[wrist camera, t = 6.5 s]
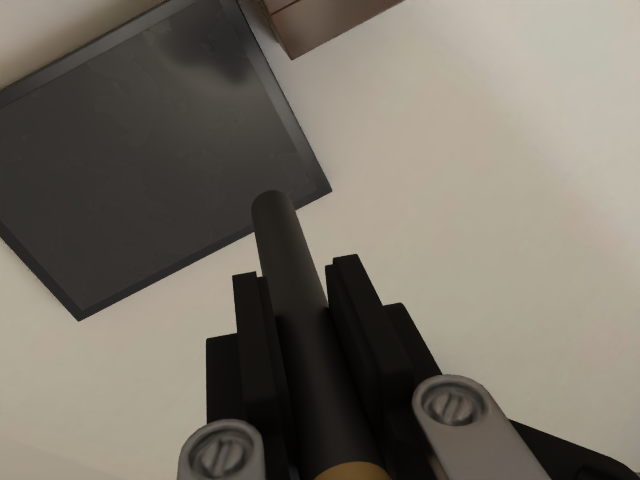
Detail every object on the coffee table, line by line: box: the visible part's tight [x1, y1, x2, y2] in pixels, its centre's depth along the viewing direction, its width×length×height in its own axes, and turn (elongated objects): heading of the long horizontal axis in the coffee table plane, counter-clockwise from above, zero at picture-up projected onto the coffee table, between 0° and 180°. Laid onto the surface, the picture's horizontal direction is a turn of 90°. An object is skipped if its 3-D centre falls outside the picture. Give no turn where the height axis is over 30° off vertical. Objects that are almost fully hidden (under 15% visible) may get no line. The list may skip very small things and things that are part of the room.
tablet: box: [0, 0, 332, 322], centre depth 28 cm, size 12×16×1 cm
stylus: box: [251, 190, 392, 480], centre depth 13 cm, size 1×1×12 cm
